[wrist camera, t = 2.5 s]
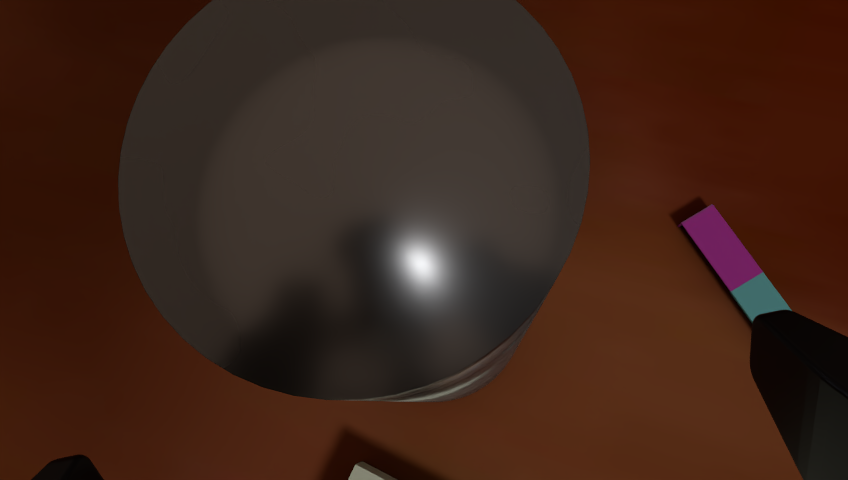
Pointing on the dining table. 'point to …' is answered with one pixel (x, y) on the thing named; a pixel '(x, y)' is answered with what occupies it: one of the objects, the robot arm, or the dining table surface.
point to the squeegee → (733, 263)
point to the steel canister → (355, 190)
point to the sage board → (368, 473)
